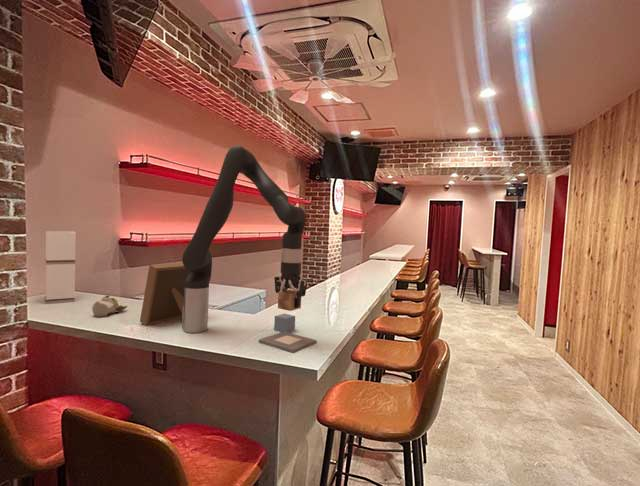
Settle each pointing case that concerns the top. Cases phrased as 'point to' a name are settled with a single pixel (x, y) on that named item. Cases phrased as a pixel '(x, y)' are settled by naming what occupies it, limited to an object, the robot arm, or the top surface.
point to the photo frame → (164, 293)
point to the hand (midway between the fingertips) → (289, 306)
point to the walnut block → (287, 300)
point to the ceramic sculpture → (106, 306)
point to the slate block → (284, 323)
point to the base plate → (287, 341)
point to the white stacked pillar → (60, 267)
